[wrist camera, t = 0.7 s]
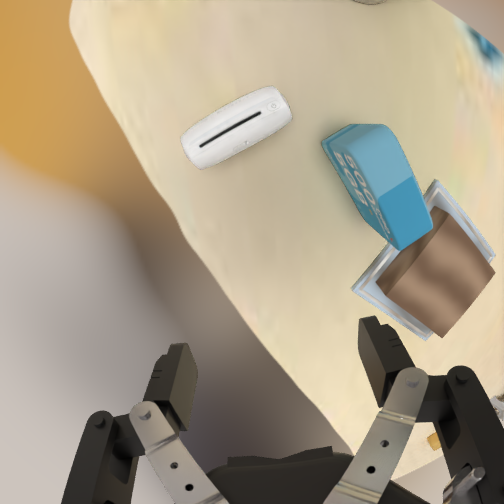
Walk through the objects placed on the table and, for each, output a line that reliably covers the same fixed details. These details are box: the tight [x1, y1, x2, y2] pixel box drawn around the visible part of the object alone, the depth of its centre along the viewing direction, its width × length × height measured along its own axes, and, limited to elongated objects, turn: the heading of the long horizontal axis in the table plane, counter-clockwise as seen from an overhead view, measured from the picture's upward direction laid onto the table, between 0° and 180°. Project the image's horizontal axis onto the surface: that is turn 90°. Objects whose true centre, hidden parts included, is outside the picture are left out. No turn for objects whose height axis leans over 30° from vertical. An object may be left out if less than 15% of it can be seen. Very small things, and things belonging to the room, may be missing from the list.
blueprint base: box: [351, 180, 495, 341], centre depth 39 cm, size 20×20×5 cm
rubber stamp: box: [427, 433, 441, 451], centre depth 56 cm, size 10×6×12 cm, turn 129°
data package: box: [322, 124, 433, 251], centre depth 30 cm, size 12×4×12 cm, turn 34°
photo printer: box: [180, 86, 292, 169], centre depth 28 cm, size 10×4×12 cm, turn 119°
